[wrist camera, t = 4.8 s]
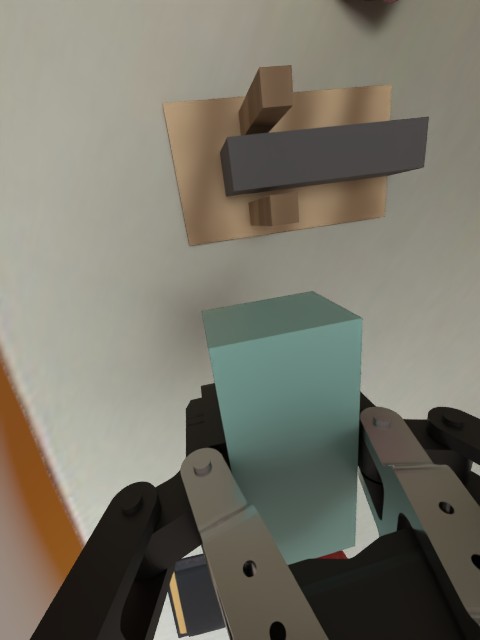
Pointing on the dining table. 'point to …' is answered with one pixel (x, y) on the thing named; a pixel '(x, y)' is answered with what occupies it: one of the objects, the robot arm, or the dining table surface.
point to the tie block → (292, 415)
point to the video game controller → (389, 1)
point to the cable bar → (322, 155)
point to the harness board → (312, 200)
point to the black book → (194, 598)
